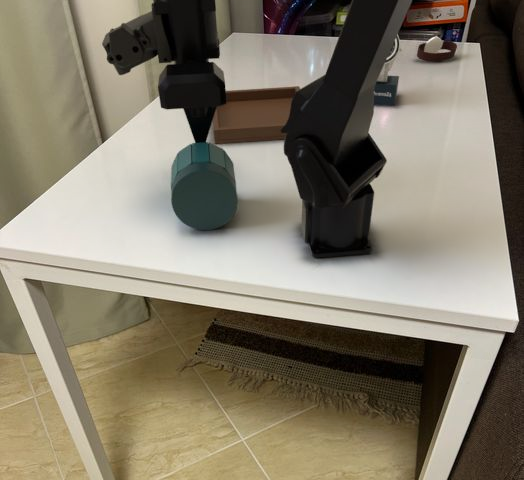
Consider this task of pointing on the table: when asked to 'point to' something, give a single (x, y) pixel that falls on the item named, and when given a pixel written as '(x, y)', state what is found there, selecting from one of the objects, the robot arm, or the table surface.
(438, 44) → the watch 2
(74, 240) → the table surface
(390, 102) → the watch
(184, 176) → the teal faceted cup
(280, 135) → the tray
